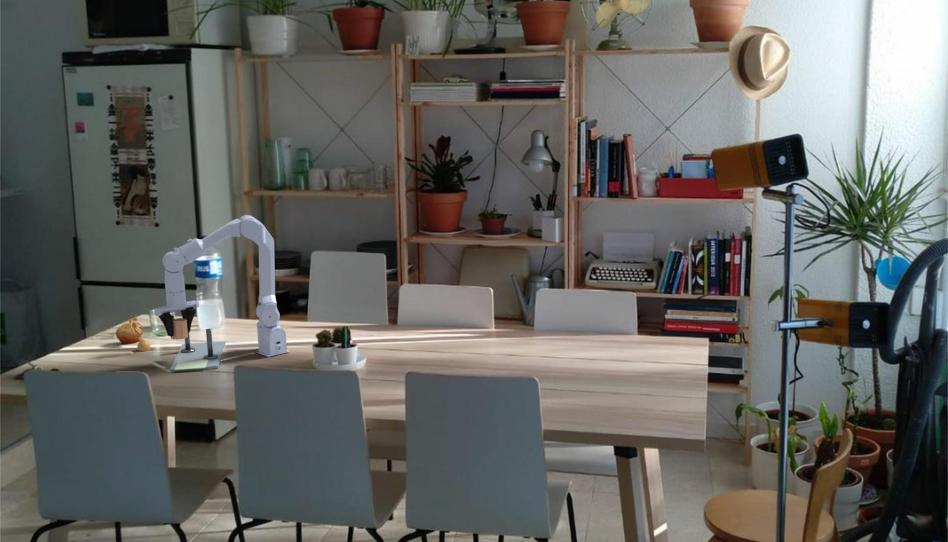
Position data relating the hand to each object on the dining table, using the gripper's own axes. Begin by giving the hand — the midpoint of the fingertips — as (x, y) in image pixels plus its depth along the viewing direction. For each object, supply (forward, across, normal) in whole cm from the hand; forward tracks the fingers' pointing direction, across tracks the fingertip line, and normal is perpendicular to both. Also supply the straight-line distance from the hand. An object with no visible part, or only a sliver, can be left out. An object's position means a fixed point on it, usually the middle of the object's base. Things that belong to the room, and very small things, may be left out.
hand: (179, 334), depth 315 cm
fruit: (+9, -3, -34) cm, 35 cm away
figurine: (+9, +1, -21) cm, 23 cm away
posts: (+9, -7, 0) cm, 11 cm away
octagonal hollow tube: (+1, 0, 0) cm, 1 cm away
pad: (+9, +2, +8) cm, 12 cm away
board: (+9, -7, 0) cm, 11 cm away
